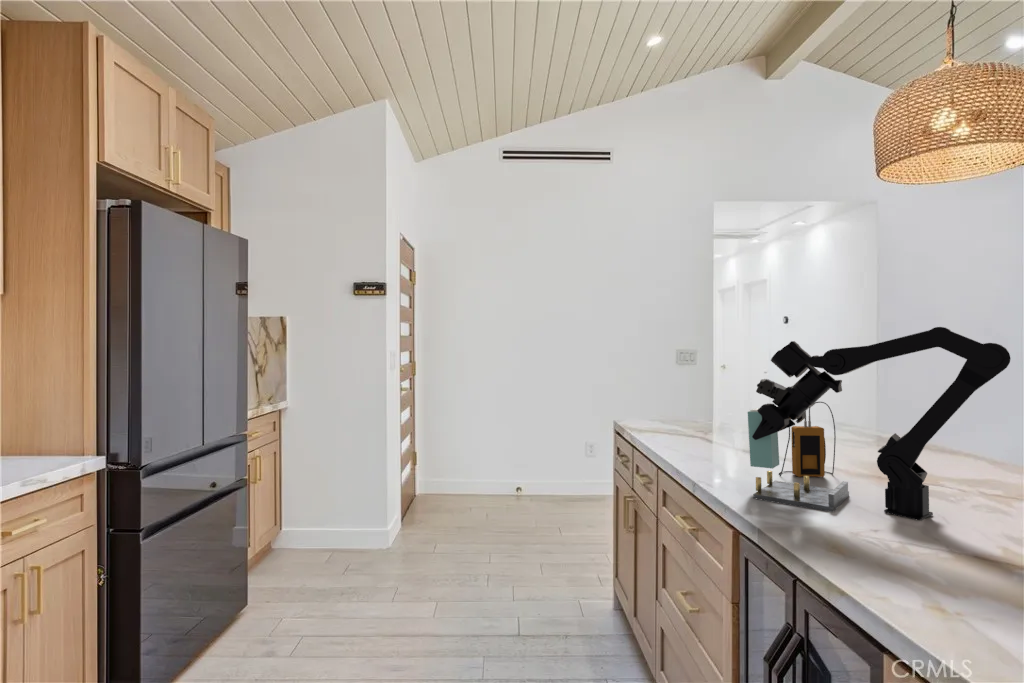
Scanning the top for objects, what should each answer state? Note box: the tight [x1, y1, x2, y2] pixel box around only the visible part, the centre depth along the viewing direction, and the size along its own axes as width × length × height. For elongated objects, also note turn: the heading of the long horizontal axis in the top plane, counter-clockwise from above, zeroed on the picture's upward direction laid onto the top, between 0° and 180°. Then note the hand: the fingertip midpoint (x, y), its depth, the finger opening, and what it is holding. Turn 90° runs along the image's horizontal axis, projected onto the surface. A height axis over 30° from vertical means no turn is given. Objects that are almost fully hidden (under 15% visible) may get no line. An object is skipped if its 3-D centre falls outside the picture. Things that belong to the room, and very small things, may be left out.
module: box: [747, 407, 780, 469], centre depth 132 cm, size 5×5×13 cm
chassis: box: [753, 470, 850, 513], centre depth 127 cm, size 17×16×4 cm
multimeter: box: [778, 401, 837, 478], centre depth 150 cm, size 15×10×20 cm
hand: (757, 436), depth 133 cm, fingers closed on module, 5 cm apart
